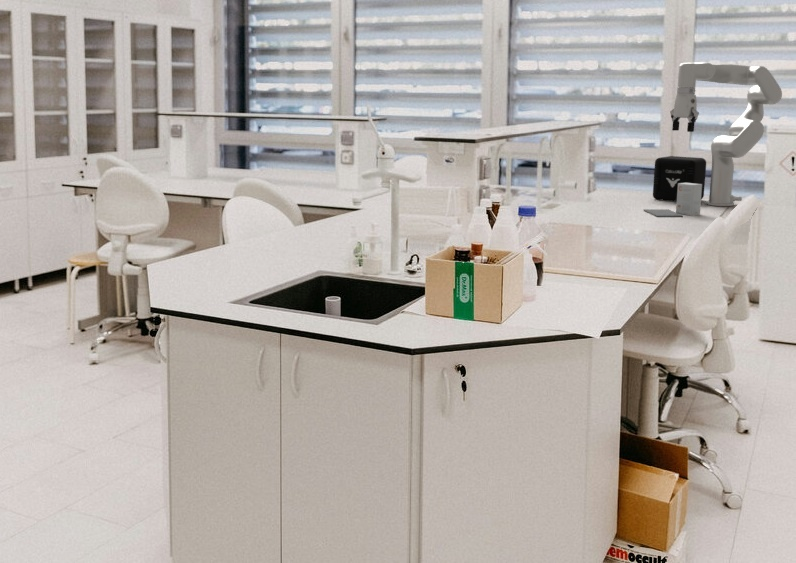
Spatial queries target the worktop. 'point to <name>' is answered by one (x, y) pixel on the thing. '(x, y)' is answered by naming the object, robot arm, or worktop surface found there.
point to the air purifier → (677, 175)
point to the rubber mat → (662, 213)
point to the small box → (688, 198)
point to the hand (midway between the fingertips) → (682, 131)
